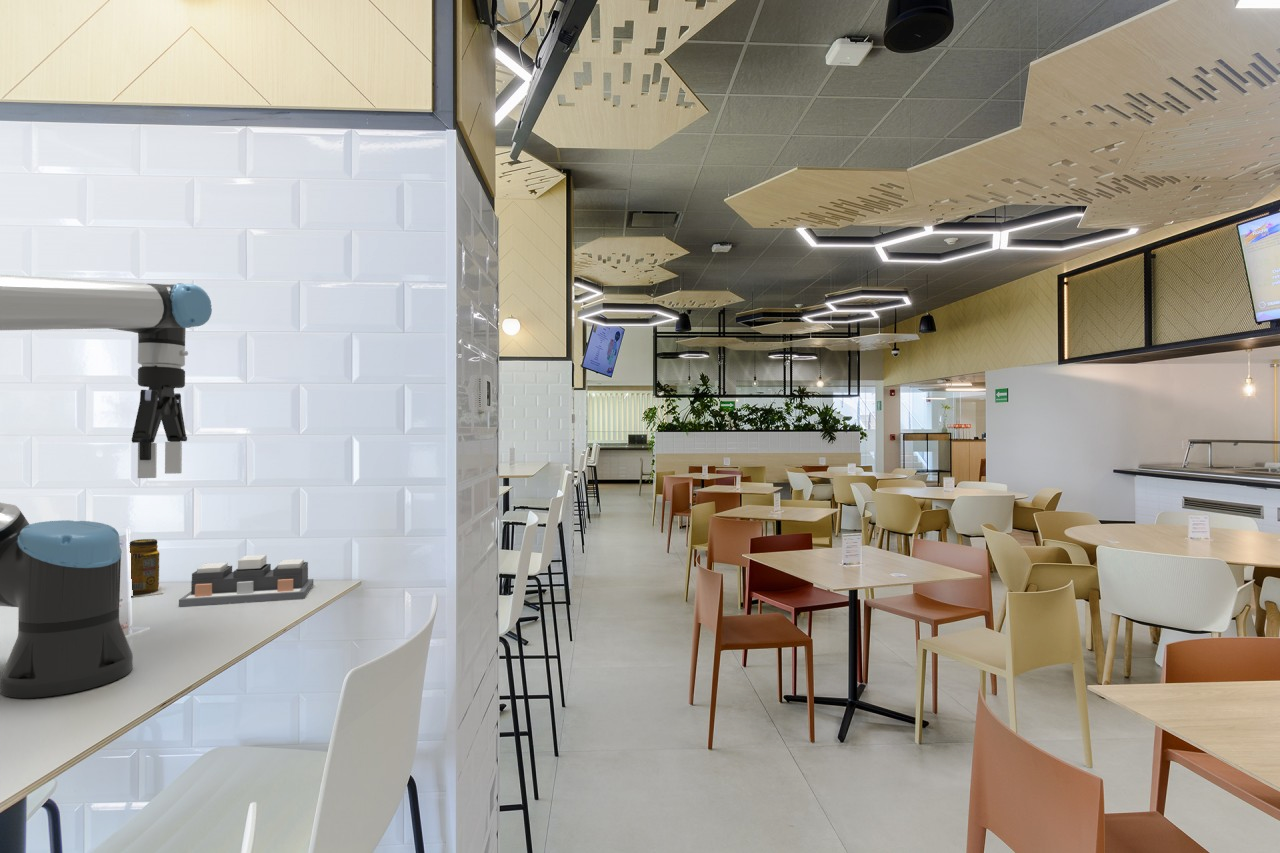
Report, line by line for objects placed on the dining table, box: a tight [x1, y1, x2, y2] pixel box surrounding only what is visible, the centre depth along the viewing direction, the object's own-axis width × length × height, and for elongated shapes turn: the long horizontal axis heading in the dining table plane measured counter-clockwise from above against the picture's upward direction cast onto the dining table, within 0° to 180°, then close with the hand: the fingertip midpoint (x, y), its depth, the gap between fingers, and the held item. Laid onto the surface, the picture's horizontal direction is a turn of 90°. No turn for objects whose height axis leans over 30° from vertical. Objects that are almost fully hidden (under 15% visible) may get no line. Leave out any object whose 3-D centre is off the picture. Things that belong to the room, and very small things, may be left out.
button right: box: [277, 558, 305, 569], centre depth 157 cm, size 4×6×2 cm
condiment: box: [129, 538, 164, 598], centre depth 155 cm, size 7×8×12 cm
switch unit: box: [178, 561, 314, 608], centre depth 153 cm, size 24×14×6 cm, turn 108°
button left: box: [196, 562, 229, 573], centre depth 152 cm, size 4×6×2 cm
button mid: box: [237, 554, 267, 569], centre depth 154 cm, size 4×6×2 cm
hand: (160, 475), depth 131 cm, fingers open, 13 cm apart
